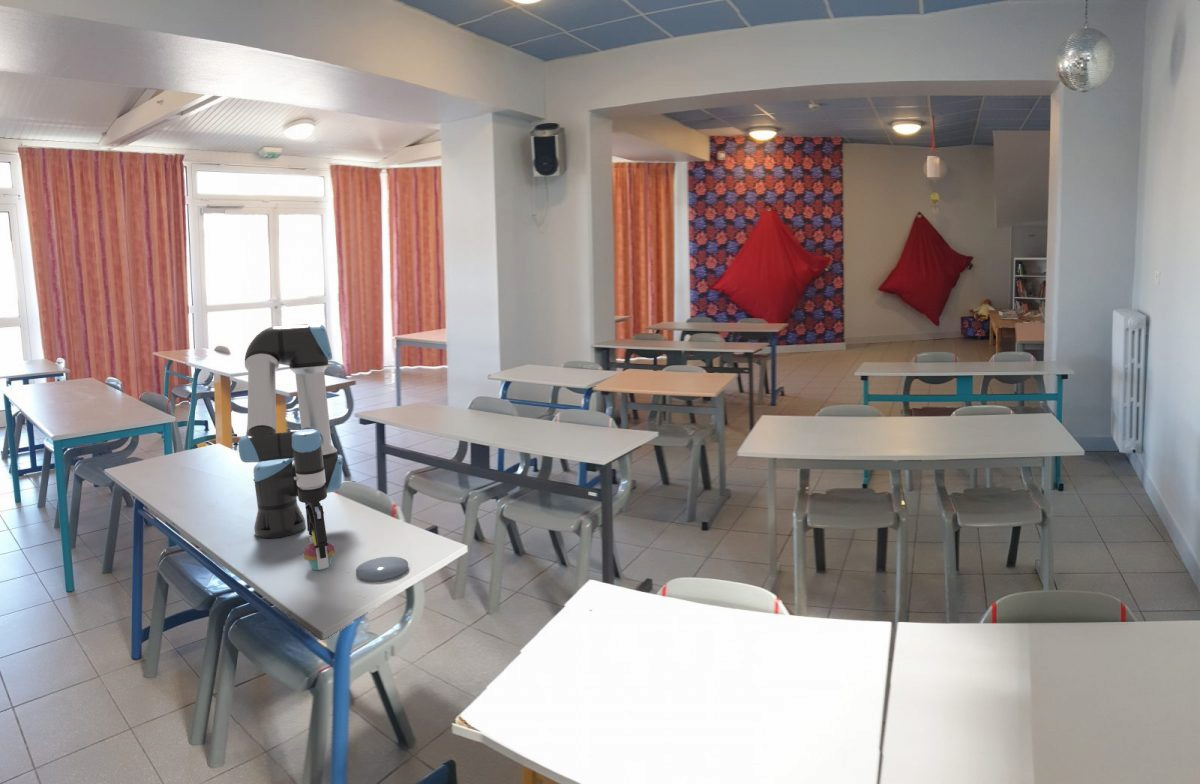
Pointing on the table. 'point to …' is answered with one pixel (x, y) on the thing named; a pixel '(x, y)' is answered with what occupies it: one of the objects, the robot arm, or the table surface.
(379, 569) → the slate plate
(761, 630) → the table surface
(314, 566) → the cupcake
